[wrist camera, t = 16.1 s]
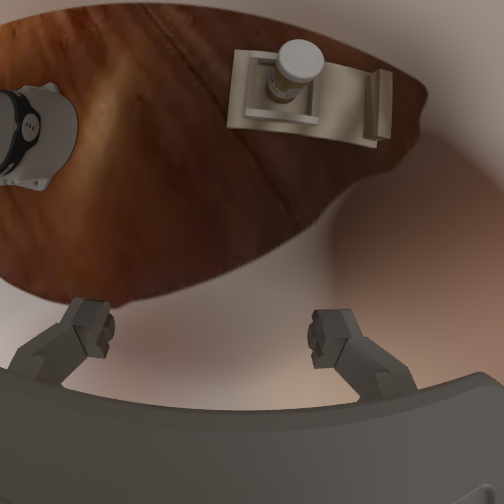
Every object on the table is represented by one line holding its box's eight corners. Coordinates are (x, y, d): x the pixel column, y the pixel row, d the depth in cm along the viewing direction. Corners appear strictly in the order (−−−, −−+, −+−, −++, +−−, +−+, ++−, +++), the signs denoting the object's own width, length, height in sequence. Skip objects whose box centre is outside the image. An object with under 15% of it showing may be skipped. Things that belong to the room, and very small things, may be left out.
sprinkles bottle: (260, 80, 35) (271, 43, 22) (290, 72, 34) (314, 34, 22) (271, 109, 36) (288, 82, 23) (302, 100, 36) (332, 73, 23)
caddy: (227, 128, 38) (225, 121, 32) (234, 53, 34) (234, 35, 28) (372, 148, 39) (392, 146, 33) (375, 78, 36) (395, 67, 30)
